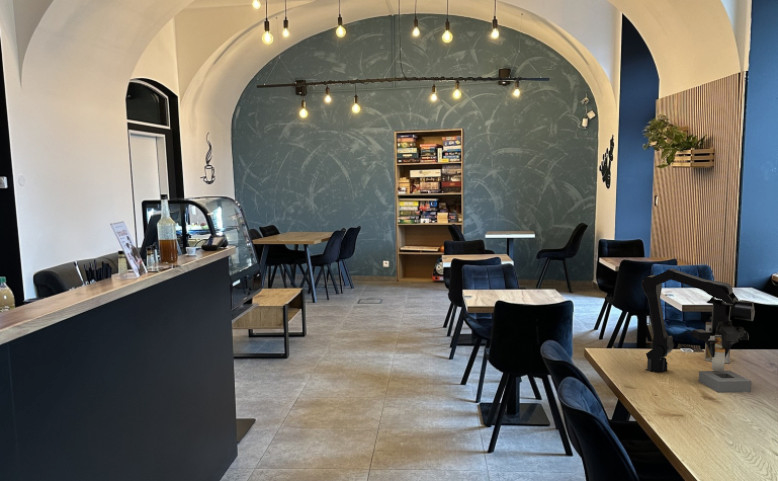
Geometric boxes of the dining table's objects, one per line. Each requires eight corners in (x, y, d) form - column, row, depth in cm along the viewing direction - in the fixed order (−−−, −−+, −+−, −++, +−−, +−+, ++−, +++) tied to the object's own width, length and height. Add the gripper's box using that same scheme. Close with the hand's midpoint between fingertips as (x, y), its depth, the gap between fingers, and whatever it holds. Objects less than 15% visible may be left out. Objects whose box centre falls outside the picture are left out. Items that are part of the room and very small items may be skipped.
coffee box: (728, 359, 242) (730, 323, 241) (729, 363, 237) (731, 326, 235) (704, 357, 247) (705, 321, 245) (704, 361, 241) (706, 324, 240)
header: (718, 395, 201) (718, 381, 201) (698, 383, 213) (699, 371, 213) (750, 394, 202) (751, 380, 201) (729, 383, 213) (729, 370, 213)
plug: (715, 371, 209) (716, 350, 208) (709, 367, 213) (710, 346, 212) (726, 371, 209) (727, 349, 208) (719, 367, 213) (721, 346, 212)
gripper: (708, 321, 201) (706, 363, 202) (760, 321, 201) (757, 363, 203) (691, 314, 212) (689, 354, 213) (740, 314, 212) (737, 354, 214)
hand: (718, 357), depth 210 cm, fingers closed on plug, 4 cm apart
